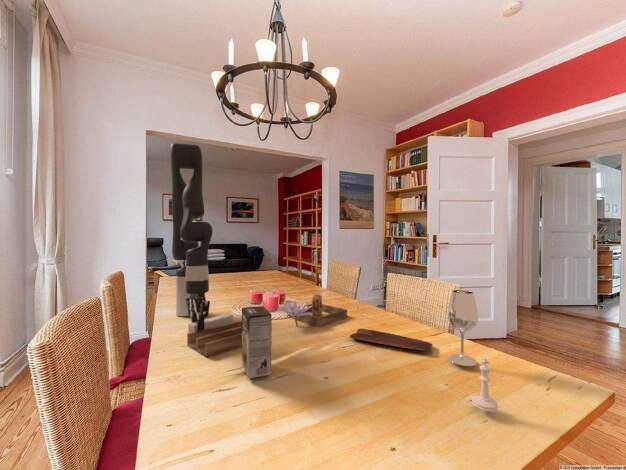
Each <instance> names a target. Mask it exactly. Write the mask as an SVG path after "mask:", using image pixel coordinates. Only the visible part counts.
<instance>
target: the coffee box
mask: <svg viewBox="0 0 626 470" xmlns="http://www.w3.org/2000/svg"><path fill="white" fill-rule="evenodd" d="M272 316H273V314H272V312H270V311H269V310H268V309H267V308H266V307H264V305H262V306H246V307H242V308H241V321H242V347H241V358H242V359H241V362H242V367H243V370H244V372H245V374H246V376H247V379H254V378H259V377H263V376H269V375H272V338H273V337H272V333H273V332H272V329H273V328H272V325H273V323H272Z"/></svg>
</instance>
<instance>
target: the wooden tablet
mask: <svg viewBox="0 0 626 470" xmlns="http://www.w3.org/2000/svg"><path fill="white" fill-rule="evenodd" d="M349 338H350V339H354V340H358V341H363V342H368V343H375V344H379V345H380V344H381V345H385V346H389V347H390V346H391V347H396V348H403V349H408V350H416V351H426V352H427V351H430V350H432V348H433V343H432V342H429V341H425V340H423V339H422V340H421V339H417V338H412V337H408V336H404V335H400V334H399V335H398V334H394V333H390V332H383V331H378V330H373V329H366V328H358V329H357V330H356V332H353V333H351V334H350V335H349Z"/></svg>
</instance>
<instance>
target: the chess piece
mask: <svg viewBox="0 0 626 470" xmlns="http://www.w3.org/2000/svg"><path fill="white" fill-rule="evenodd" d="M480 364H481V365H480V366H479V370H480V373H481V375H480V376H479V378H478V379H479V380H481V389H480V394H478V395H474V396H472V398H471V403H472V405H473V406H474V407H476V408H478V409H480V410H482V411H485V412H495V411H498V409H499V405H498V403H497V401H496V400H494V399H493V398H491V397H490V393H489V386H488V383H489V382H491V381H492V380H491V378H490V377H488V376H489V374H490V372H491V367H490V366H487V365H488V364H490V361H489V360H488V359H487V358H486V357H483V360H481V361H480Z"/></svg>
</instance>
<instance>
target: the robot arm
mask: <svg viewBox="0 0 626 470" xmlns="http://www.w3.org/2000/svg"><path fill="white" fill-rule="evenodd" d="M169 161H170V173H171V194H172V195H171V215H172V216H171V217H172V242H171V243H172V245H171V247H172V248H171V252H172V258H173V259H174V260H175V261H185V265H184V266H182V267H180V268H177V269H176V271H175V295H176V296H175V297H176V298H175V301H176V302H175V312H176V313H175V315H176V316H178V317H190V318H191V323H193V322H197V330H199V331H200V330H204V320H205V319H207V318H208V317H209V313H210V307H211V306H210V305H211V302H210V300H206V293H209V291H210V282H209V281H210V277H209V275H210V274H209V273H210V272H209V266H208V265H209V263H208V262H209V261H208V257H209V256H208V255H209V248H210V245H211V244H210V243H211V240H212V236H213V231H214V230H213V226H212V224H210V223H209V222H208V221H207V222H206V221H193V220H196V219H197V220H198V219H201V218H202V217H204V215H205V205H204V197H203V153H202V150H201V147H200V146H199V145H197V144H192V143H191V144H190V143H180V142H179V143H178V142H174V143H171V145H170V148H169ZM181 169H183V170H184V169H185V170H186V169H187V170H193V173H192V177H191V178H190V179H189V181H188V183H186V181H185V180H184V178H183V175H182V173H181ZM199 242H200V244H199Z"/></svg>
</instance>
